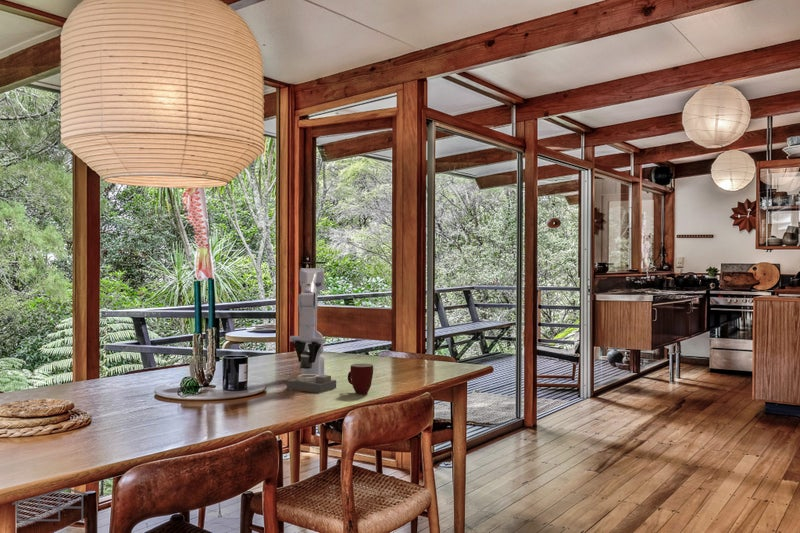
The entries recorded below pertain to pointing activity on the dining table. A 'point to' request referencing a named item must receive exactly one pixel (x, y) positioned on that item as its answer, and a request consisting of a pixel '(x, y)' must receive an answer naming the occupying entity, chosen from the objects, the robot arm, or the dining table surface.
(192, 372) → the cup
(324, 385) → the camera body
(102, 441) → the dining table surface
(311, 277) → the robot arm
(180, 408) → the dining table surface
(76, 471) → the dining table surface
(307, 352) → the lens
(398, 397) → the dining table surface
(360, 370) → the mug
